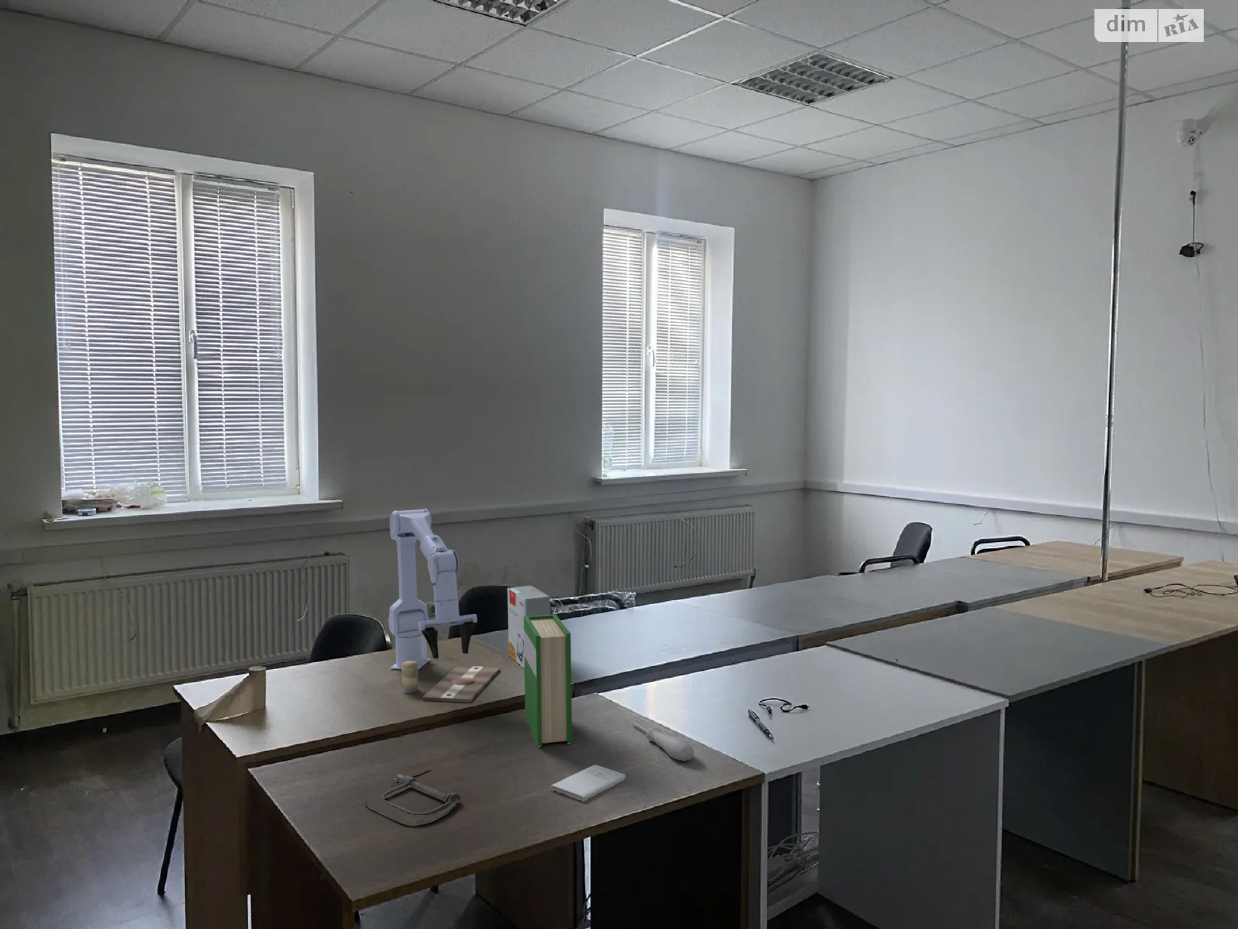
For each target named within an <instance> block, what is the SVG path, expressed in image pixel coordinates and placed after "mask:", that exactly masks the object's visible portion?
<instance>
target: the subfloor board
mask: <svg viewBox="0 0 1238 929" xmlns="http://www.w3.org/2000/svg"><path fill="white" fill-rule="evenodd" d="M498 671H499V672H500V671H501V668H500V667H498V666H497V667H494V666H482V665H481V666H479V665H478V666H477V665H472V666H469V665H467V666H466V665H456V666H455V667H454V668H453V669H452V670H451V671H450V672H449V673H448V674H446V675H445V676H444V677H443V678H441V680H440V681H439V682H438V683H437V684H435V685H434V686H433V687H432V688H431V689H430V690H428V692H427V693H425V694H424V695H423V696H422V702H423V701H425V702H426V701H427V702H449V703H450V702H452V703H469V702H470V703H471V702H472V701H473V700H474V699H475V698H476V697H477V696H478V694H479V693H480V692H482V691H483V689H484V688H485V687H486V686H487V685H488V684H489V683H490V682H491V681H492V679H493V678H494V677H495V676H496V675H497V674H498V673H499V672H498ZM497 672H498V673H497ZM495 674H496V675H495ZM489 681H490V682H489ZM488 682H489V683H488ZM487 683H488V684H487ZM486 684H487V685H486ZM485 685H486V686H485ZM476 695H477V696H476Z"/></svg>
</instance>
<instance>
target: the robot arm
mask: <svg viewBox="0 0 1238 929" xmlns="http://www.w3.org/2000/svg"><path fill="white" fill-rule="evenodd" d="M389 535H390V539H391V540H394V541H396V542H395V543H396V550H397V551H396V552H397V571H398V572H397V573H398V575H397V576H398V594H399V597H398V599H397V600H396V601H395V602H394V603H393V604H392V605H390V607H389V609H388V610H389V615H388V621H387V622H388V628H389V631H390V633H391V634H392V635H393V636H394V637H395V661H396V662H395V663H394V664H393V665H391V666H390V670H401V663H403V662H406V661H416V662H417V663H418V671H419V670H420V669H421V668H422V667H423V666H425V665H426V664H427V663H428V662H430V661H431V658H427V657H428V655H427V654H428V653H427V652H428V650H427V644H428V646H429V650H430V651H431V654H432V659H436V660H437V659H439V646H438V635H439V633H438V632H439V631H438V630H436V629H437V628H439V629H440V628H445V627H451V626H457V625H458V628H459V632H460V633H459V635H460V640H461V641H460V642H461V653H462V654H467V655H468V654H469V648H470V644H471V639H472V635H473V634H474V630H475V627H476V623H477V622H478V617H477V614H475V613H474V614H472V613H471V614H464V615H460V611H459V610H460V609H459V597H458V596H459V595H458V585H457V575H456V574H457V573H458V571H459V568H460V561H459V556H458V554H457V552H456V550H454V549H448V547H447V546H446V544H445V543H444V541H443V540H442V539H441V537H440V536H439V535H437V534H434V533H433V531H432V515H431V513H430V511H429V509H427V508H422V509H409V510H393V511H392V513H391V514H390V517H389ZM417 541H420V543H419V544H420V545H419V547H420V548H419V549H420V551H421V553H422V554H423V555H424V558H425V559H426V560H427V570H428V573H429V577H430V583H431V584H432V588H433V601H434V603H433V604H434V613H435V619H429V614H428V609H427V604H426V603H425V602H424V601H422V600H420V599H418V584H417V582H418V580H417V562H416V561H417V560H416V559H417V558H416V542H417ZM445 623H446V624H445Z"/></svg>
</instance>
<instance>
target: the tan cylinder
mask: <svg viewBox="0 0 1238 929" xmlns="http://www.w3.org/2000/svg"><path fill="white" fill-rule="evenodd" d="M400 670H401V671H400V672H401V692H402V693H404V694H412V693H416V692H418V691H419V670H418V663H417V662H416V661H406V662H403V663H401V669H400Z"/></svg>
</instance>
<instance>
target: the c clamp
mask: <svg viewBox="0 0 1238 929" xmlns="http://www.w3.org/2000/svg"><path fill="white" fill-rule="evenodd" d="M394 780H395V781H398V780H401V781H402V782H400V783H397V784H395V783H394V784H391V785H388V786H387V787H393V786H396V785H400V784H403V785H401V786H399V787H396V788H394V789H392V790H389V791H387V792H385V793H384V794H383V795H382V796H381V801H384V802H386V803H387V804H390V805H392V806H393V807H395V808H398V809H400V810H402V811H406V812H407V813H408V814H413V815H429V814H435V813H437V812H438V811H443V812H441V813H440V814H438V815H436V816H434V817H432V818H430V819H434V818H438V817H439V816H441V815H443V814H445V813H447V812H448V811H450V810H452V808H454V807H455V808H456V806H457V805H458V804H457V803H458V801H459V800H460V799H461V798H462V797H461V795H460V794H459V793H458V792H450V793H448V794H446V793H444V792H441V791H439V790H437V789H435V788H432V787H431V786H427V785H426V784H423V783H421V782H418V781H417V778H416V777H410V776H408V775H405V776H404V775H402V774H397V775H396V777H395V778H394V779H393V781H394ZM408 785H412V786H414V787H417V788H420V789H421V790H425V791H427V792H429V793H430V794H434V795H435V796H438V797H441V798H442V799H445V802H444V804H442V805H440V806H438V807H436V808H434V809H432V810H429V811H425V812H424V811H423V812H415V811H411V810H409V809H407V808H404V807H402V806H400V805H398V804H395V803H392V802H391V801H388V800H384V797H385V795H387V794H390V793H392V792H394V791H396V790H400V789H402V788H404V787H407V786H408ZM461 800H462V799H461ZM456 804H457V805H456ZM455 808H454V809H455ZM452 811H453V810H452ZM428 820H429V819H427V820H424V821H428Z"/></svg>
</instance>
